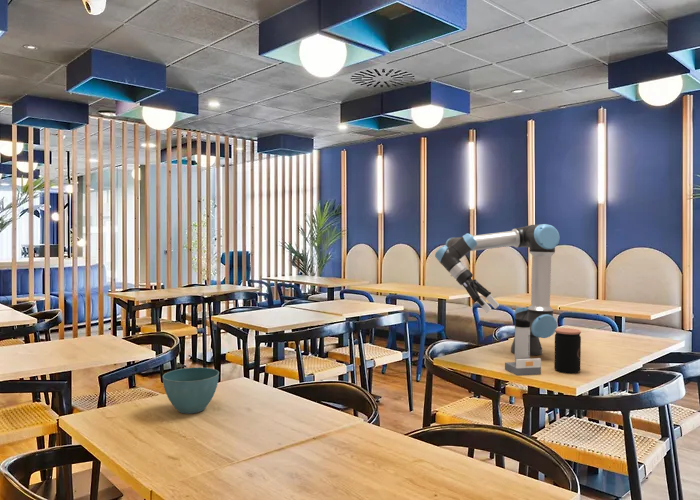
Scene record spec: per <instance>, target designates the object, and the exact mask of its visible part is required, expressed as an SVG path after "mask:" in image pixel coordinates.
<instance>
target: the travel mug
mask: <svg viewBox="0 0 700 500" xmlns="http://www.w3.org/2000/svg"><path fill="white" fill-rule="evenodd" d="M515 324H516V325H515ZM514 337H515V353H514V362H515V365H516V359H531V358H530V357H531V355H530V321H527V320H521V319H515V318H514Z"/></svg>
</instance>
